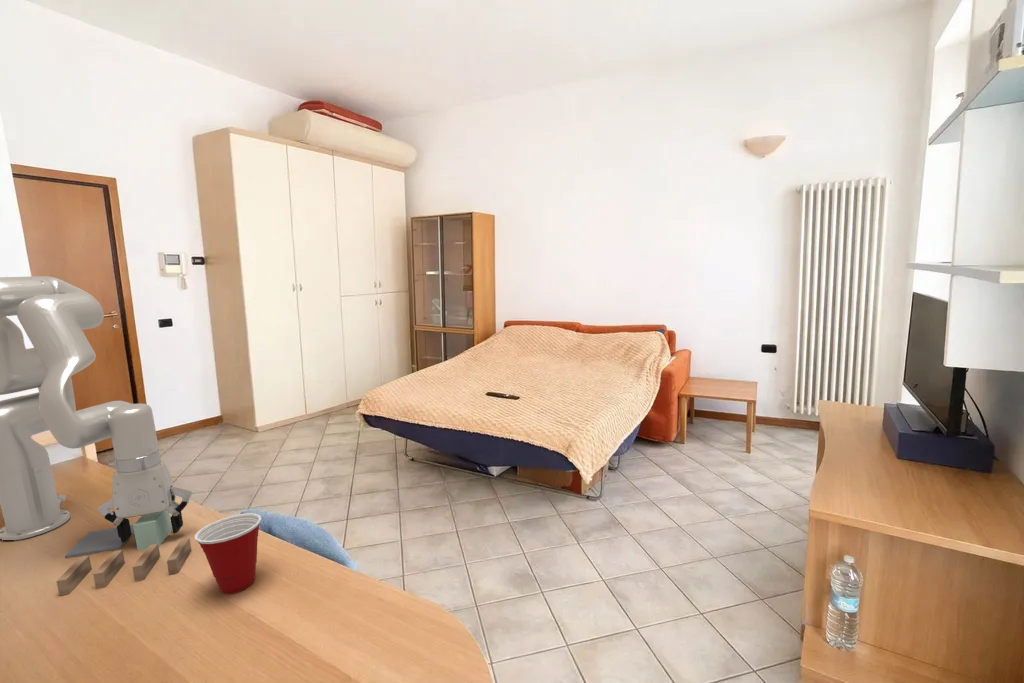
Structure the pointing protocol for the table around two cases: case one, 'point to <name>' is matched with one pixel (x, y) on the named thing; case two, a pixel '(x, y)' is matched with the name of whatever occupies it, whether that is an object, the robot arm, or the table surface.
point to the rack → (117, 561)
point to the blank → (152, 529)
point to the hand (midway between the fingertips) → (152, 534)
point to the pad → (98, 542)
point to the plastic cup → (231, 550)
